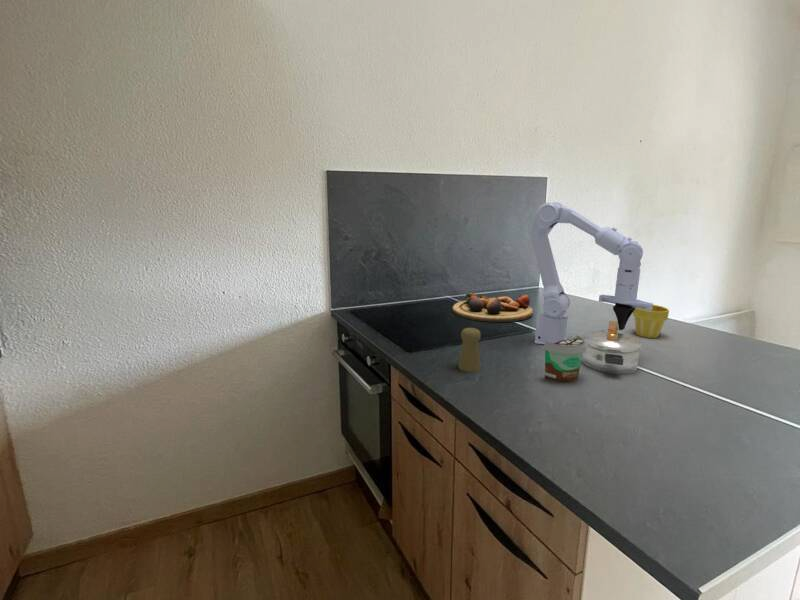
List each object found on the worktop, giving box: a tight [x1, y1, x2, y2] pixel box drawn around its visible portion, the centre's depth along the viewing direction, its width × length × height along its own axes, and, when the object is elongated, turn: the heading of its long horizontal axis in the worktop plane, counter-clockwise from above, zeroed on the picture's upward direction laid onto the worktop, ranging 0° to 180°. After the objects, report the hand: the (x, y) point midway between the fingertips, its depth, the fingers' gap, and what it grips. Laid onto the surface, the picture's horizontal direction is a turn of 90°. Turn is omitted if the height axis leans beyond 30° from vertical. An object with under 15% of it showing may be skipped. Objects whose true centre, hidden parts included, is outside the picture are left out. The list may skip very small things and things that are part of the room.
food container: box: [542, 335, 586, 383], centre depth 109 cm, size 12×6×10 cm, turn 117°
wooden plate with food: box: [451, 291, 534, 323], centre depth 173 cm, size 32×32×8 cm
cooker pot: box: [581, 344, 641, 375], centre depth 120 cm, size 22×14×6 cm, turn 160°
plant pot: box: [632, 304, 670, 339], centre depth 145 cm, size 10×10×10 cm
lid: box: [582, 320, 643, 353], centre depth 121 cm, size 20×15×3 cm
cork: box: [457, 327, 482, 373], centre depth 115 cm, size 6×6×11 cm
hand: (621, 329), depth 127 cm, fingers closed
